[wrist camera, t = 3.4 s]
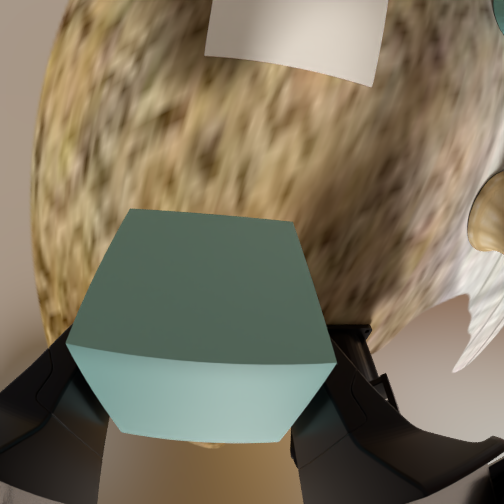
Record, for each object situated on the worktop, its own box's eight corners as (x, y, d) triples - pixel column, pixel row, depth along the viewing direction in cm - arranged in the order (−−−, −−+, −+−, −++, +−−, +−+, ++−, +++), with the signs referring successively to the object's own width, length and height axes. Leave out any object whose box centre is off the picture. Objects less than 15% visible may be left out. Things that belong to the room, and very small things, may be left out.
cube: (292, 222, 9) (337, 362, 5) (264, 326, 12) (278, 441, 8) (130, 208, 8) (65, 343, 4) (143, 318, 11) (121, 432, 7)
